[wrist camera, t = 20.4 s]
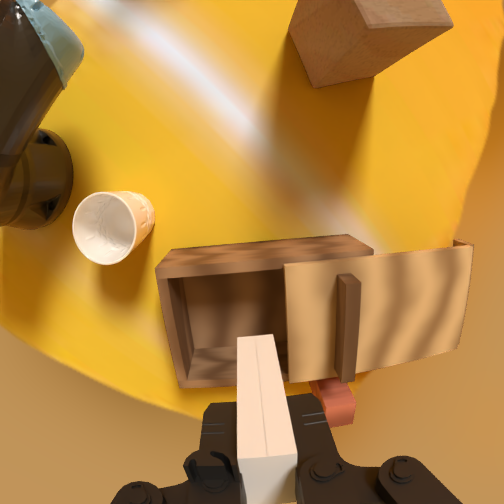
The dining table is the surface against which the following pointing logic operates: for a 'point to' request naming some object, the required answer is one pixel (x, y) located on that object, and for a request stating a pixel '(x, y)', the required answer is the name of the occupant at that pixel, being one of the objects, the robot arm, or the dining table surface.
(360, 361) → the lid
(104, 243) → the white cup
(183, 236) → the dining table surface
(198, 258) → the toolbox
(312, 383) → the reddish-brown wooden bar
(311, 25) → the wooden block
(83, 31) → the dining table surface
